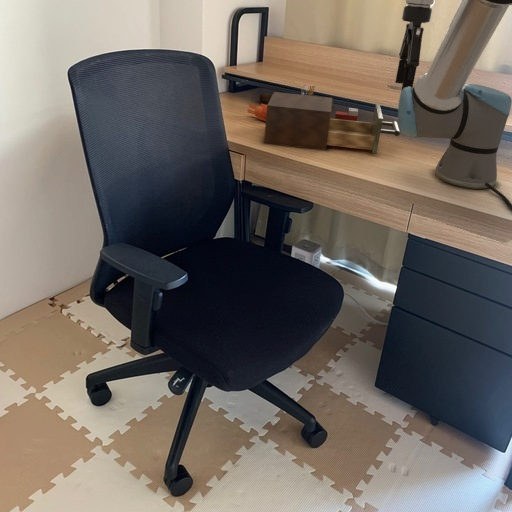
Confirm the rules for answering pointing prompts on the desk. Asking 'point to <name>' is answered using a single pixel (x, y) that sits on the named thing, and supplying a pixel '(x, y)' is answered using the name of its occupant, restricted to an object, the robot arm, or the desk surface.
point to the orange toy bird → (259, 111)
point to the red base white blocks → (347, 115)
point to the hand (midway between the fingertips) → (403, 87)
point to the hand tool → (265, 97)
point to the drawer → (359, 132)
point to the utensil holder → (309, 90)
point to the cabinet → (298, 120)
